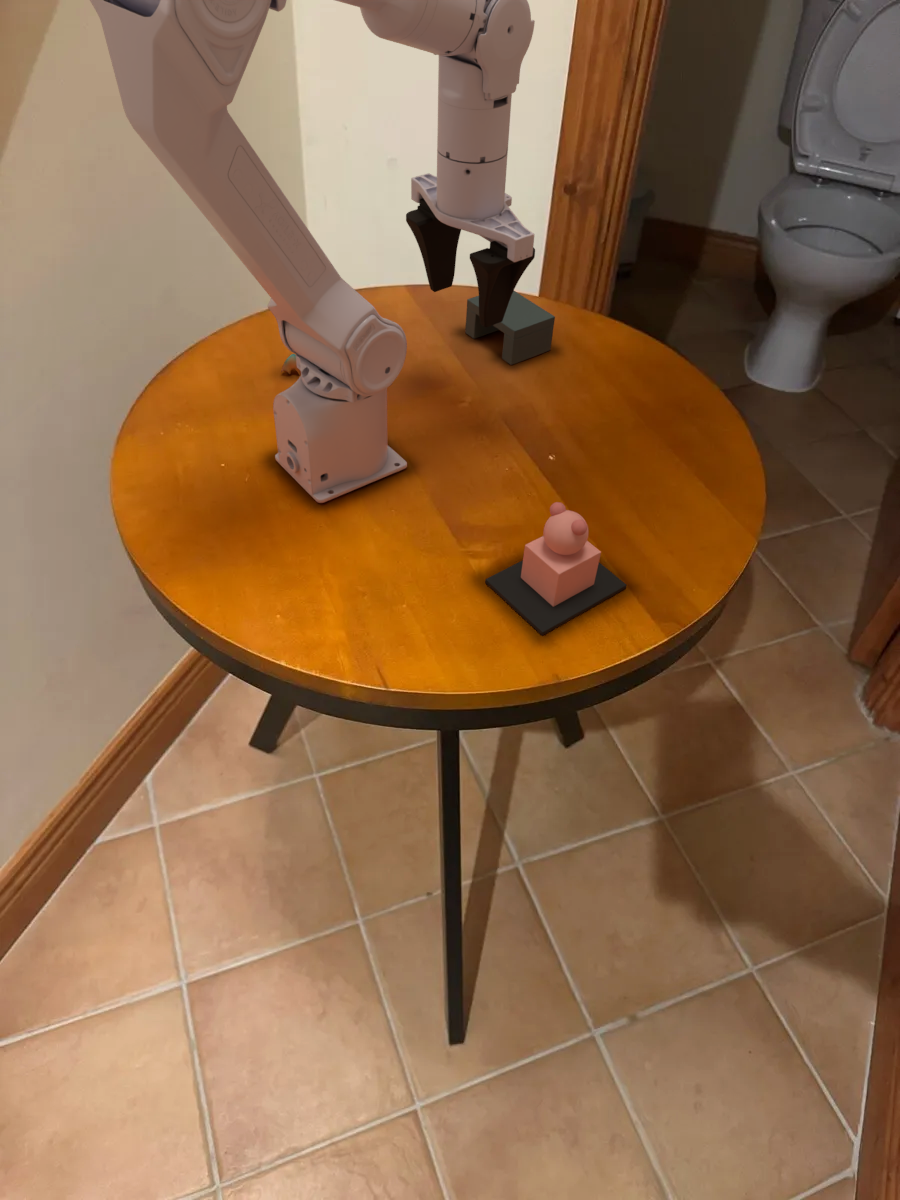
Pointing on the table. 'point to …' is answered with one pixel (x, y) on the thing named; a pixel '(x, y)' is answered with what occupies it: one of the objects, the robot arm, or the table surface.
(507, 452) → the table surface
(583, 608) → the mat
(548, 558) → the toy
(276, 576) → the table surface
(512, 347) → the grey step stool
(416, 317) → the table surface
